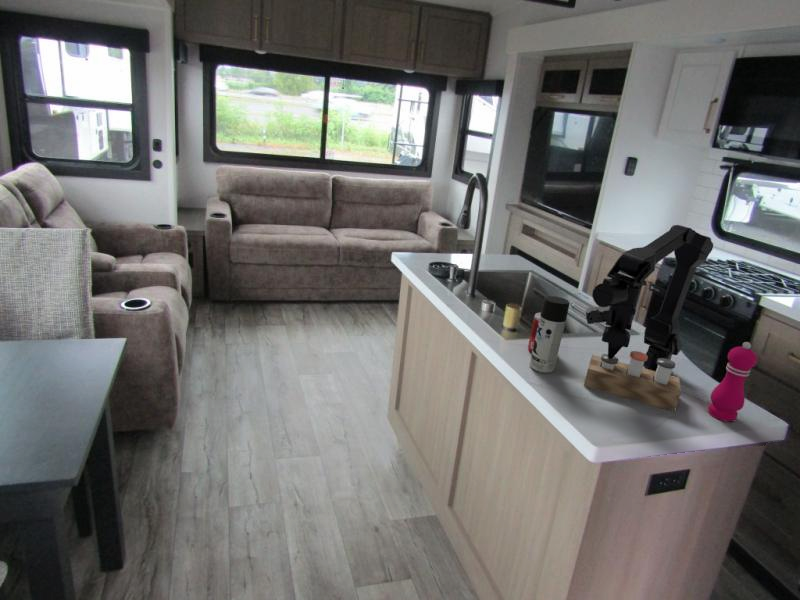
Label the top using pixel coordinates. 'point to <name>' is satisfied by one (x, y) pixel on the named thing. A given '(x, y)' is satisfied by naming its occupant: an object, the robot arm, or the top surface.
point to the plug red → (636, 363)
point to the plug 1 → (608, 362)
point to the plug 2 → (663, 370)
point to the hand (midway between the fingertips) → (610, 357)
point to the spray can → (549, 334)
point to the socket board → (633, 384)
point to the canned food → (534, 331)
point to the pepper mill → (732, 384)
